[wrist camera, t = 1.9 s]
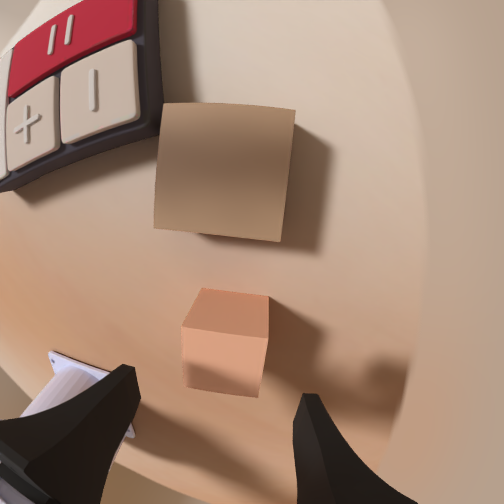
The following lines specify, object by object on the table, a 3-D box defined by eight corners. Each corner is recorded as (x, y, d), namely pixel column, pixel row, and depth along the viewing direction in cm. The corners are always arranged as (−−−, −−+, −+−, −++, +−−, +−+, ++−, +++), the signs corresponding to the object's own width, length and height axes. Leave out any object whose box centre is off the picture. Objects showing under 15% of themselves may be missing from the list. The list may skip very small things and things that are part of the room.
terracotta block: (260, 349, 17) (257, 397, 13) (200, 341, 18) (183, 386, 13) (268, 295, 16) (268, 338, 12) (202, 287, 16) (181, 326, 12)
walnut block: (277, 228, 15) (280, 242, 12) (173, 217, 16) (153, 228, 13) (290, 122, 14) (295, 110, 11) (182, 114, 14) (163, 103, 11)
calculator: (146, 123, 11) (-24, 199, 11) (172, 135, 15) (12, 191, 15) (143, -32, 8) (-20, 68, 8) (162, 0, 12) (11, 76, 12)
